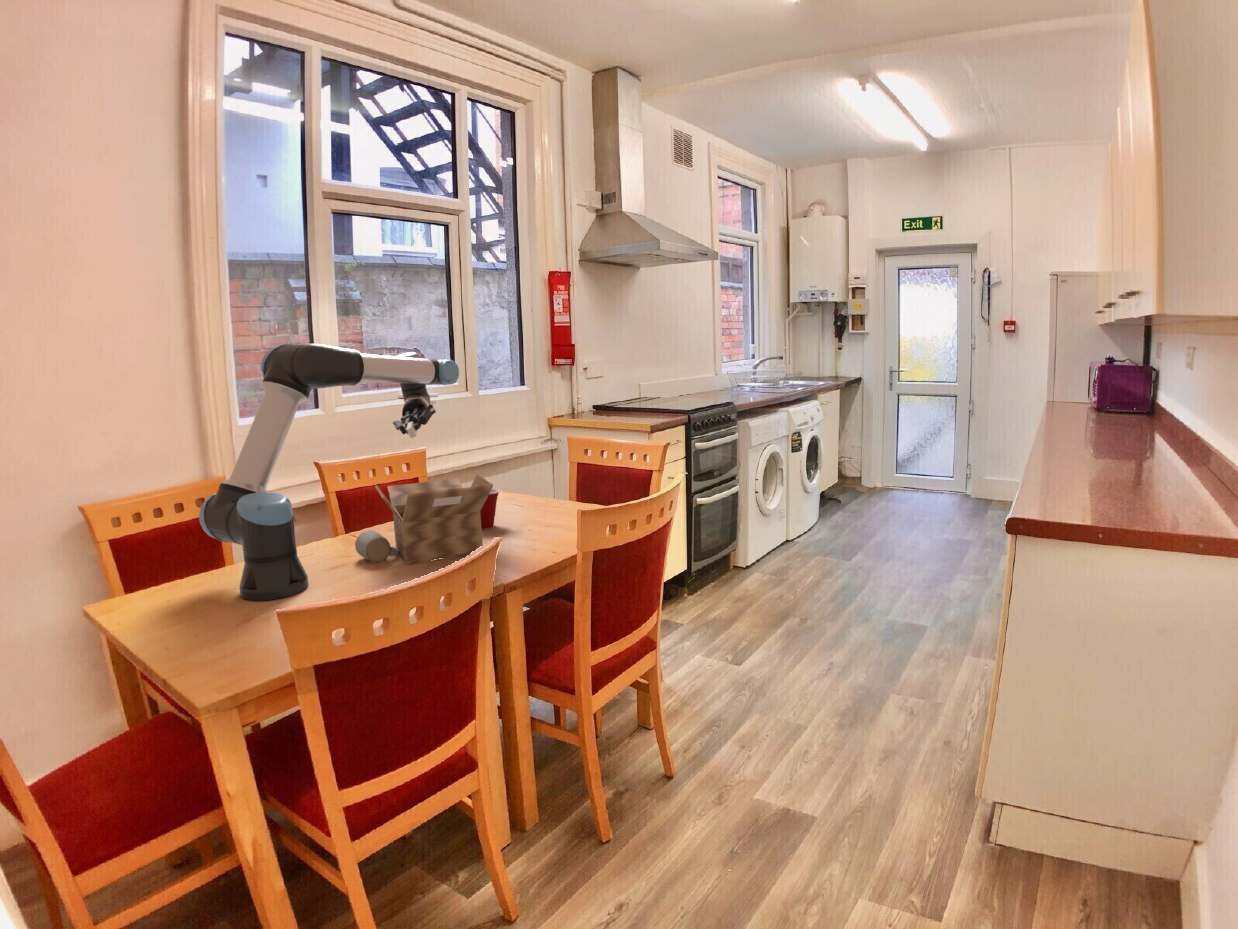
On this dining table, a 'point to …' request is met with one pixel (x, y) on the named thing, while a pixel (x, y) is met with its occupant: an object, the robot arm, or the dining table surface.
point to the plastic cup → (489, 510)
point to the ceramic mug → (374, 546)
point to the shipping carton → (434, 525)
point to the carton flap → (444, 503)
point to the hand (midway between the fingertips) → (411, 432)
